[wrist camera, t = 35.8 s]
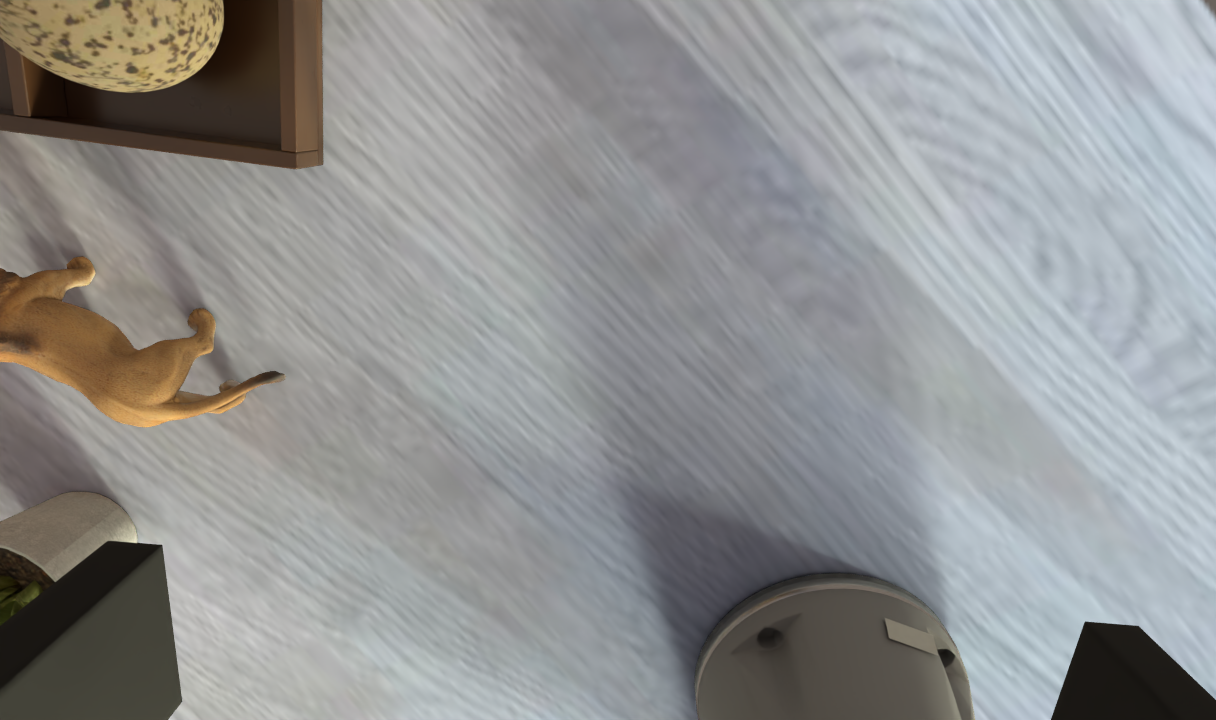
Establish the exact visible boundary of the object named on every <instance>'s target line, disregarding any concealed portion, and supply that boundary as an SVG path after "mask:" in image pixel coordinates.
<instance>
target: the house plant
mask: <svg viewBox="0 0 1216 720" xmlns="http://www.w3.org/2000/svg"><path fill="white" fill-rule="evenodd" d="M107 541H119V542H131V543H137V533H136V529H135V526H134V524H133V522H132V521H131V519H130V517H129V516H128V514H127V513H126V512H125V511H124V510H123V509H122V508H121V507H120V506H119V505H117V504H116V503H115V502H113V501H112V500H110V499H109V498H106V497H104V496H102V495H100V494H97V493H90V492H70V493H63V494H60V495H58V496H56V497H54V498H52V499H49V500H47V501H45V502H43V503H41V504H38V505H36V506H34V507H32V508H29V509H27V510H25V511H23V512H21V513H18V514H16V515H14V516H12V517H10V518H7V519H5V520H3V521H1V522H0V625H2V624H3V623H4V622H5V621H7V620H8V619H9V618H10V617H12V616H13V615H14V614H16V613H17V612H18V611H19V610H21V609H22V608H23V607H24V606H26V605H27V604H28V603H29V602H31V601H32V600H33V599H35V598H36V597H37V596H38V595H40V594H41V593H42V592H43V591H45V590H46V589H47V588H48V587H50V586H51V585H52V584H54V583H55V582H56V581H57V580H59V579H60V578H61V577H62V576H64V575H65V574H66V573H67V572H69V571H70V570H71V569H72V568H74V567H75V566H76V565H78V564H79V563H80V562H81V561H83V560H84V559H85V558H86V557H88V556H89V555H90V554H91V553H93V552H94V551H95V550H97V549H98V548H99V547H100V546H102V545H103V544H104V543H105V542H107Z"/></svg>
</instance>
